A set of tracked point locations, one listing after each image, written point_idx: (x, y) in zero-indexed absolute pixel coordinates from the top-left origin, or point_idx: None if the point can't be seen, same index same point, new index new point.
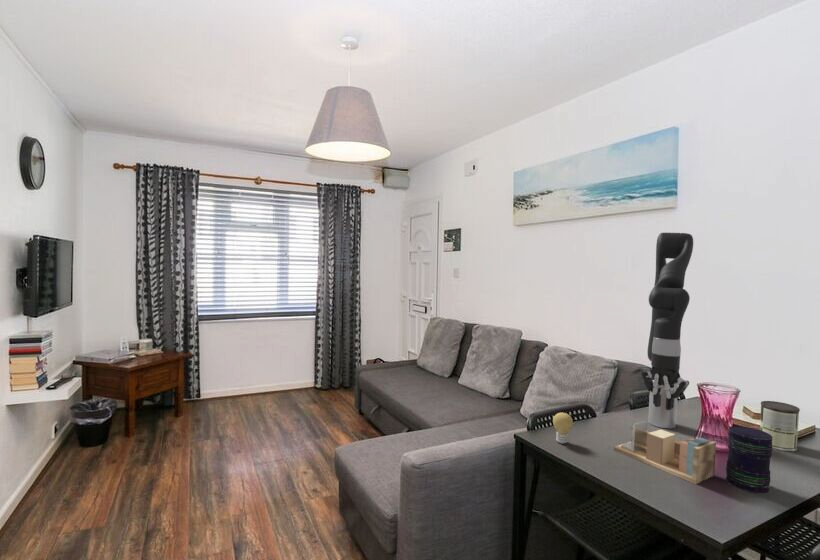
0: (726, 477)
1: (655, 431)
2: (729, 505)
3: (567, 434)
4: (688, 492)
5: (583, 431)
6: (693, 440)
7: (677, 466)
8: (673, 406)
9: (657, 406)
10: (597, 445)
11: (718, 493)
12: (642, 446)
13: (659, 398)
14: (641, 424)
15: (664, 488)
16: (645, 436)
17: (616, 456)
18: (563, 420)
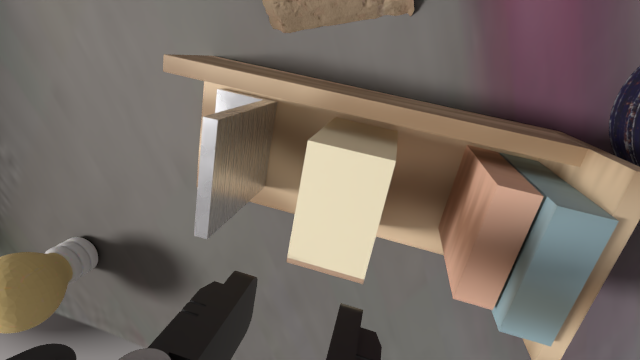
0: (617, 136)
1: (301, 201)
2: (617, 343)
3: (73, 266)
4: (490, 336)
5: (49, 91)
6: (525, 291)
7: (425, 190)
8: (380, 356)
9: (250, 317)
10: (153, 188)
11: None
12: (268, 131)
13: (216, 350)
14: (216, 179)
15: (425, 355)
16: (254, 118)
17: (236, 232)
18: (22, 330)
